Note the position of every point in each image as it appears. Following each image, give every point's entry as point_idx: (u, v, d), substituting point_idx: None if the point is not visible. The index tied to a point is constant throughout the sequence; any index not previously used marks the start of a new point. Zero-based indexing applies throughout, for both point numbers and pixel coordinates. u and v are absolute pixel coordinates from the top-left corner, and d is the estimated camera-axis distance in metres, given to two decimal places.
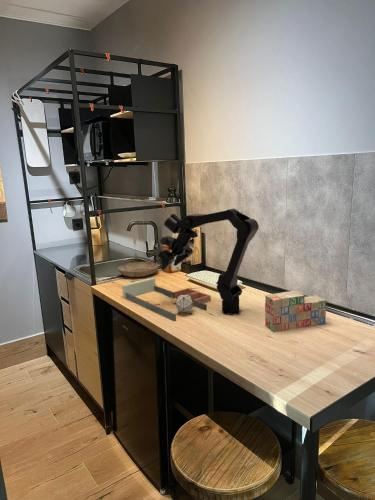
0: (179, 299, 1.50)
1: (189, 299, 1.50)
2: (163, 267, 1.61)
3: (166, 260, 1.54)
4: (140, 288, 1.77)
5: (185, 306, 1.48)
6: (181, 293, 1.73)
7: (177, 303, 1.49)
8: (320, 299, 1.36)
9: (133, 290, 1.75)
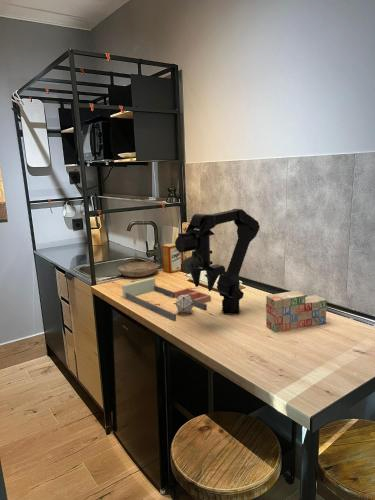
0: (179, 299, 1.50)
1: (189, 299, 1.50)
2: (211, 286, 1.37)
3: (224, 270, 1.33)
4: (140, 288, 1.77)
5: (185, 306, 1.48)
6: (181, 293, 1.73)
7: (177, 303, 1.49)
8: (321, 299, 1.36)
9: (133, 290, 1.75)
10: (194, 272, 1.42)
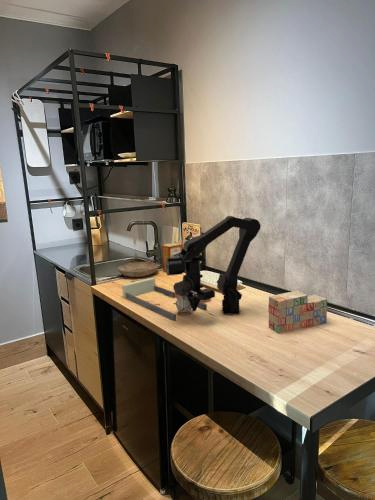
0: (179, 299, 1.50)
1: None
2: (196, 306, 1.46)
3: (213, 294, 1.40)
4: (140, 288, 1.77)
5: (185, 306, 1.48)
6: None
7: (177, 303, 1.49)
8: (321, 298, 1.36)
9: (133, 290, 1.75)
10: None
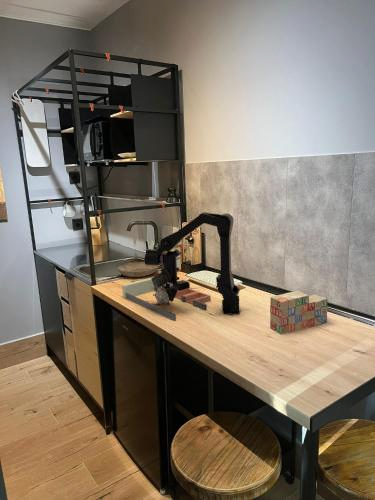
0: (158, 291, 1.61)
1: None
2: (173, 297, 1.57)
3: (188, 285, 1.51)
4: (140, 288, 1.77)
5: (163, 297, 1.59)
6: (181, 293, 1.73)
7: (156, 294, 1.61)
8: (322, 298, 1.37)
9: (133, 290, 1.75)
10: None
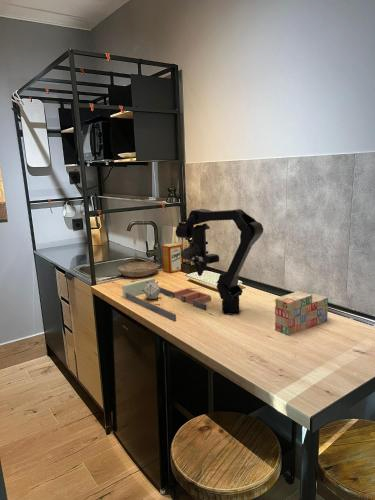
0: (147, 286, 1.68)
1: (156, 286, 1.68)
2: (202, 271, 1.57)
3: (218, 259, 1.51)
4: (140, 288, 1.77)
5: (151, 293, 1.66)
6: (181, 293, 1.73)
7: (145, 290, 1.68)
8: (322, 297, 1.38)
9: (133, 290, 1.75)
10: None
